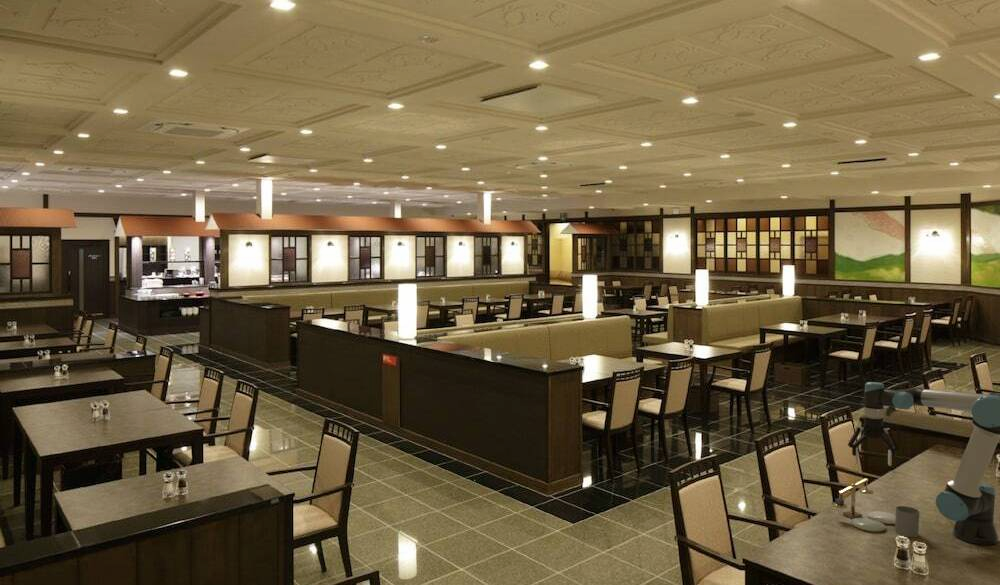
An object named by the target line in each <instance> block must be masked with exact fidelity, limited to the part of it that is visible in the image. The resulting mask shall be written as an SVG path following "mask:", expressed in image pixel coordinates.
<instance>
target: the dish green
mask: <svg viewBox="0 0 1000 585" xmlns="http://www.w3.org/2000/svg"><path fill="white" fill-rule="evenodd" d="M850 523H851V525H852V526H853V527H855V528H857V529H859V530H862V531H866V532H872V533H873V532H874V533H876V532H877V533H878V532H882V531H885V530H886V525H885V524H884V523H881V522H879V521H876V520H872V519H871V518H867V517H865V518H864V517H860V518H854V519H851V520H850Z"/></svg>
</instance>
